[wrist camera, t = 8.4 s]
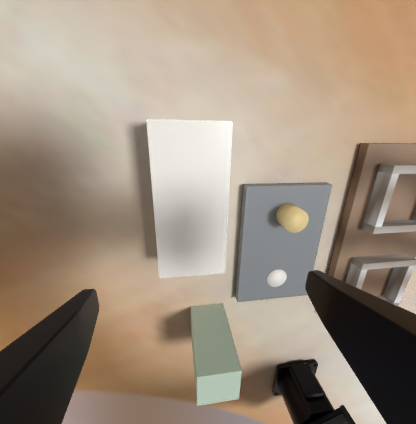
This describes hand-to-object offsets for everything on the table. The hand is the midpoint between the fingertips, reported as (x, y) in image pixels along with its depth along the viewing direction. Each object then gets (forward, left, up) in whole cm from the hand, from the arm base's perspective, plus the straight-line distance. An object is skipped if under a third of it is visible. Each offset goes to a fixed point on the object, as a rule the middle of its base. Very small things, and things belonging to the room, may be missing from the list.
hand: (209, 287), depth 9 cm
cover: (0, 0, -13) cm, 13 cm away
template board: (-6, -10, -13) cm, 17 cm away
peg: (-16, -2, -13) cm, 20 cm away
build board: (-6, -23, -13) cm, 27 cm away
